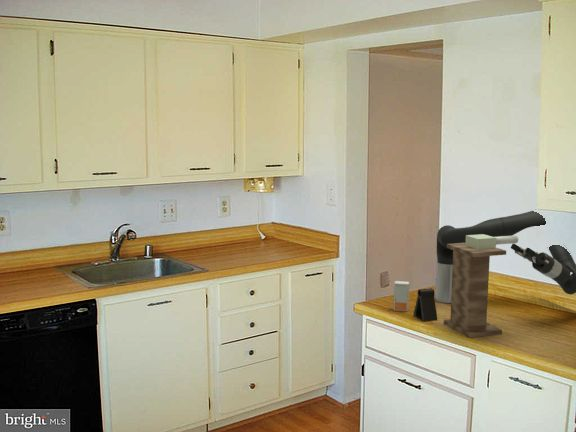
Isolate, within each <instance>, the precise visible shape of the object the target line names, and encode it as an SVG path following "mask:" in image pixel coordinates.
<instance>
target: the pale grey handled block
mask: <svg viewBox="0 0 576 432" xmlns="http://www.w3.org/2000/svg"><path fill="white" fill-rule="evenodd" d="M518 242H519V237H518V235H516V234H514V235H512V236H500V237H492V236H488V235H485V234H479V235H466V243H465V246H468V247H471V248H474V249H477V250H480V249H493V248H497V245H509V244H511V245H512V244H513V243H514V244H517V243H518Z"/></svg>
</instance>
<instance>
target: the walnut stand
mask: <svg viewBox="0 0 576 432" xmlns="http://www.w3.org/2000/svg"><path fill="white" fill-rule="evenodd" d="M447 248H449V249H452V250H453V268H452V293H451V303H450V318H449V319H443V324H444V325H446V326H448V327H449V328H451V329H454V330H455V331H457V332H459V333H461V334H462V335H464V336H466V337H468V338H479V337H487V336H494V335H496V336H497V335H501V334H503V329H501V328H499V327H497V326H496V325H495V326H494V325H493V324H491V323H488V322H487V319H488V318H487V317H488V315H487V314H488V300H489V299H488V297H489V281H490V280H489V279H490V278H489V276H490V261H491V260H490V259H491V258H490V257H494V256H495V257H496V256H506V255H507V250H505V249H503V248H499V247H496V248H493V249H480V250H477V249H474V248H471V247H468V246H465V243H454V244H447Z"/></svg>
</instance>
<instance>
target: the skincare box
mask: <svg viewBox="0 0 576 432" xmlns="http://www.w3.org/2000/svg"><path fill="white" fill-rule="evenodd" d="M409 293H410V281H402V280H394V286H393V310H392V311H396V312H398V311H399V312H406V313H407V312H408V310H409V296H410V295H409Z"/></svg>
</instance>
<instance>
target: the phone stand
mask: <svg viewBox="0 0 576 432" xmlns="http://www.w3.org/2000/svg"><path fill="white" fill-rule="evenodd" d="M436 306H437V305H436V298H435V289H434V288H421V289H418V290H417V298H416V302H415V306H414V311H413V314H412V315H413V317H416V318H417V319H419V320H420V321H422V322H431V321H433V320H434V321H438V314H437V307H436Z"/></svg>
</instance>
